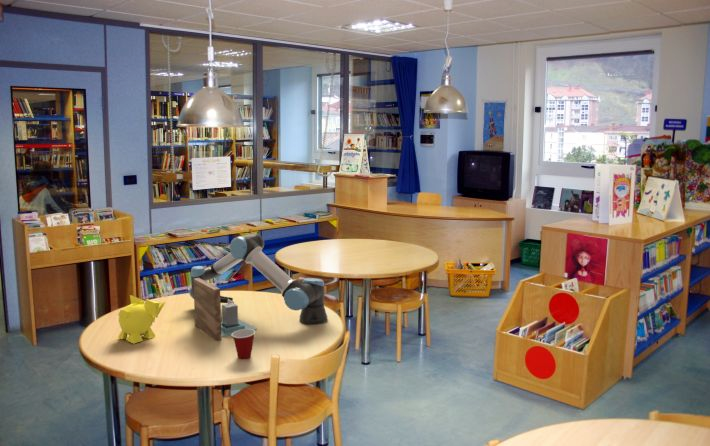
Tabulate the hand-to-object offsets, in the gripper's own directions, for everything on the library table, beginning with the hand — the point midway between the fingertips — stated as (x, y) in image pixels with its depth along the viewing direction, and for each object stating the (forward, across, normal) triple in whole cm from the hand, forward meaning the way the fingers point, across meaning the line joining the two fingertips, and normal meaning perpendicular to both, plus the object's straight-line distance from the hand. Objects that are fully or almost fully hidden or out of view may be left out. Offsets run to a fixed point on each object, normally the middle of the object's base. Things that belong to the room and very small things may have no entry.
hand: (221, 306), depth 327 cm
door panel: (+10, +12, -9) cm, 18 cm away
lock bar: (+10, 0, -9) cm, 13 cm away
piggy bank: (-5, +43, -9) cm, 44 cm away
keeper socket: (+10, 0, -9) cm, 14 cm away
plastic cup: (+50, +13, -10) cm, 53 cm away
